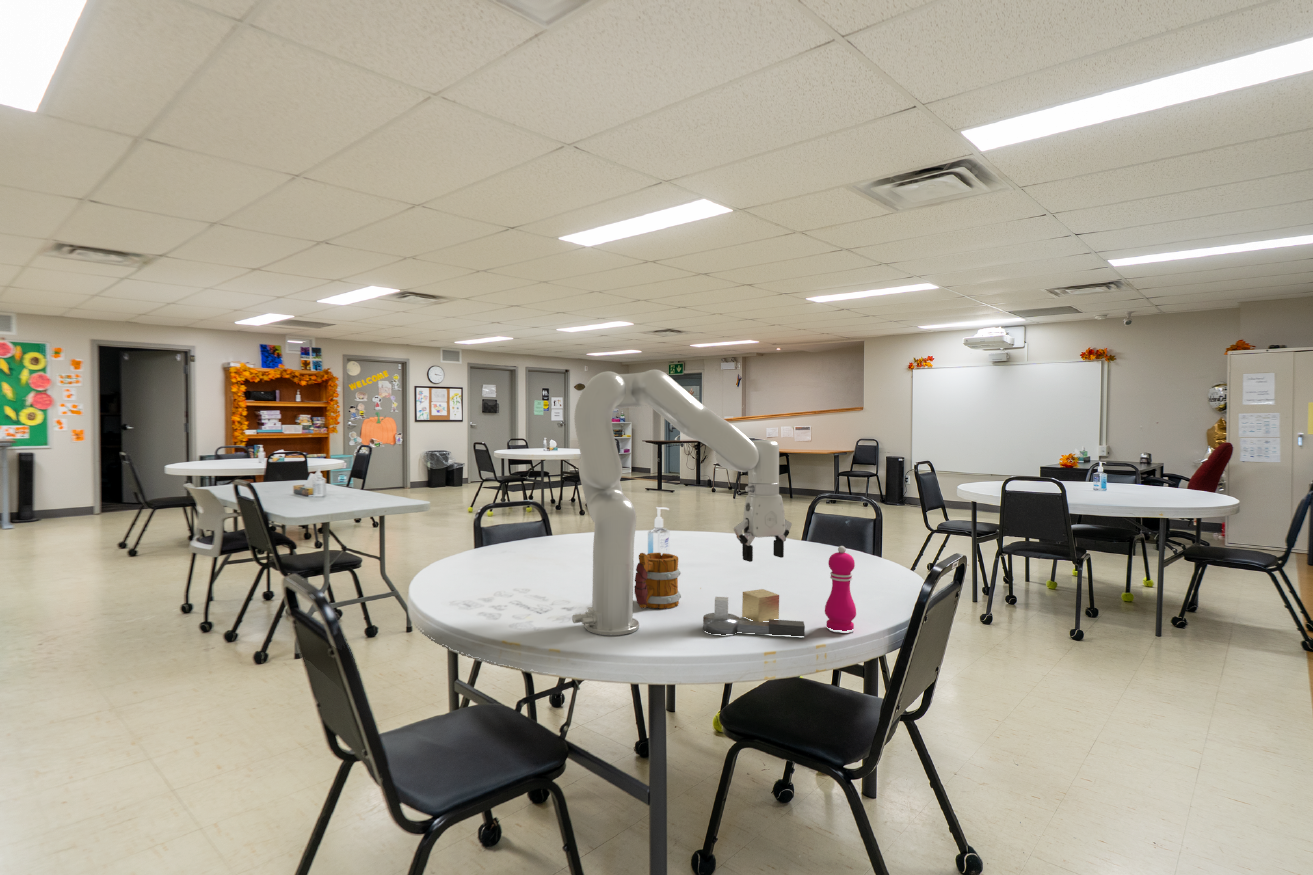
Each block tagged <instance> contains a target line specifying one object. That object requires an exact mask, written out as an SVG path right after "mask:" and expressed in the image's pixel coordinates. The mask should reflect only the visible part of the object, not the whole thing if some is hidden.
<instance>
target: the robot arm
mask: <svg viewBox="0 0 1313 875" xmlns="http://www.w3.org/2000/svg"><path fill="white" fill-rule="evenodd" d="M647 406H648V407H650V408H651V409H652V410H653V411H655V412H656V413H657V414H659V415H660V417H662V418H663V419H664V420H666V421H667V422H668V423H669V424H670V425H671V426H673V427H674V428H675V429H676V430H677V431H678V432H680V433H681V434H683V435H685V436H686V437H688V438H690V439H693V440H696V441H698V442H700V443H702V444H703V445H705V446H707V447H709V449H711V450H712V451H714V457H715V461H716V462H717V464H718V465H719V466H721V467H722V468H723V469H727V470H729V471H737V472H742V473H746V472H747V477H748V478H747V479H748V482H747V486H745V489H744V490H745V492H746V493H748V494H747V495H746V497H745V502H744V507H743V509H744V510H743V519H742V521H741V522H740V523H739V524H737V525H736V526H734V528H733V532H734V533H735V535H736V539H737V540H738V541H739V543H740V544H741V545H742V546H741V547H742V552H741V553H742V555H741V556H742V560H743V561H746V562H749V563H751V562H753V560H754V559H753V557H754V550H753V549H754V548H753V545H752V543H753V542H754V540H755V538H770V537H774V540H773V554H772V555H773V556H774V557H777V558H784V555H785V554H784V550H785V549H784V548H785V545H784V544H785V542H786V540H787V537H788V536H789V534H790V530H791V527H792V525H793V524H792V522H790V521H789V520H787V519H785V518H786V516H785V506H784V502H783V498H782V497H783V496H782V495H781V494H780V482H779V481H780V446H779V443H778V442H777V441H775V440H768V439H767V440H766V439H765V440H764V439H763V440H751V439H750V438H749V437H747V436H746V435H745V433H743V432H742V431H740V429H738V428H737V427H735V426H734V425H733V424H732V423H730V422H729V421H727V420H726V419H724V418H723V417H721V416H720V415H718V414H717V413H715V411H713V410H712V409H710V408H708V407H707V406H705V405H704V404H702V403H701V401H699V400H698V399H697V398H695V397H694V396H693V395H692V394H691V393H690V392H689V391H687V390H686V389H685V388H684V387H682V386H681V385H680V384H679V383H678V382H677V381H675V380H674V379H673V378H672V377H671V376H669V375H668V374H667V373H666V372H664V371H662V370H660V369H650V370H646V371H643V372H635V373H617V372H615V371H610V370H609V371H601V372H600V373H597V374H596V375H594V376H592V377H591V378H590V379H589V380H588V382H587V383H586V385H585V387H584V388H583V390H582V391H581V393H580V395H579V397H578V399H577V402H576V405H575V408H574V418H573V419H574V429H575V433H576V439H577V444H578V448H579V452H580V458H579V462H578V474H579V479H580V483H581V484H580V485H581V488H582V491H583V495H584V499H585V503H586V507H587V510H588V511H587V512H588V514H589V517H590V519H591V520H592V522H593V523H594V532H593V543H592V544H593V546H592V603H591V604H592V605H591V607H588V608H587V611H585V612H584V613H578V614H576V613H575V614H573V615H572V616H571V620H572V621H571V622H572V623H573V624H578V623H579V624H580V623H581V624H582V625H585V630H587V631H588V632H590V633H593V634H595V635H601V636H622V635H628V634H632V633H634V632H636V631H637V630H638V629H639V627H640V623H639V621H638V620H637V619H636V618H634V617H633V616H634V615H633V612H634V610H633V609H634V607H633V606H634V605H633V604H634V599H633V598H634V566H635V564H634V550H635V549H634V548H635V536H636V535H635V534H636V527H637V512H636V508H635V506H634V503H632V501H631V500H630V499H629V498H628V497H627V496H626V495H624V492H623V488H622V484H621V478H622V477H623V465H622V461H621V458H620V455H619V450H618V448H617V443H616V439H615V435H614V433H615V432H614V429H613V423H612V422H613V419H612V417H613V414H614V410H615V409H624V408H625V409H626V408H627V409H628V408H638V407H647ZM743 533H744V534H743Z"/></svg>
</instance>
